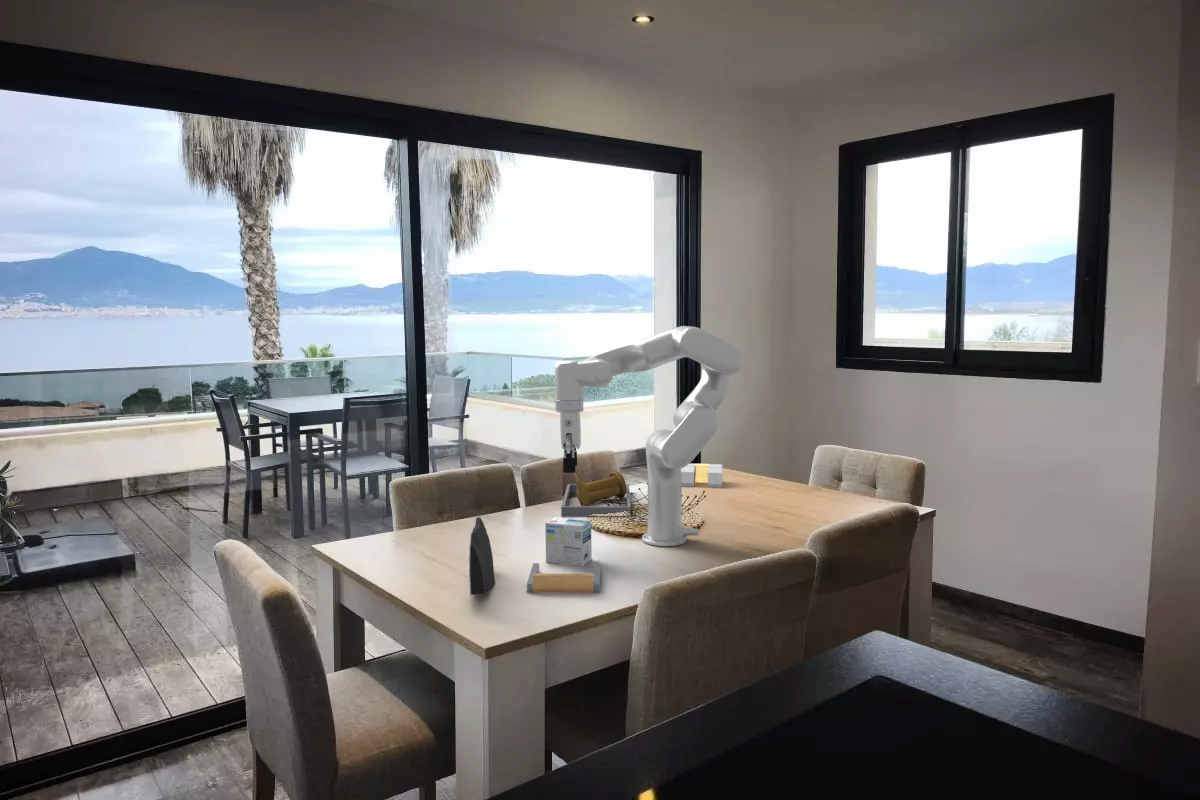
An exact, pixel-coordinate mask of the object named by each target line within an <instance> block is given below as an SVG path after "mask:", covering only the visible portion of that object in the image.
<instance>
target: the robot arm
mask: <svg viewBox="0 0 1200 800" xmlns="http://www.w3.org/2000/svg"><path fill="white" fill-rule="evenodd" d="M683 358H688V359H691V360H693V361H695V362H698V363H699V364H700V365H701V377H700V379H699V382H698V383H697V385H696V386H695V387H694V388H693V390H692V391H691V392H690V394H688V396H687V397H686V398H685V399H684V400H683V401H682V402H681V403H680V405H679V406H678V407H677V409H676V410H675V412H674V413H673V418H672V421H673V425H674V427H675V429H674V430H670V429H663V428H662V429H657V430H655V431H653V432H652V433H651V434H650V435H649V437H648V438H647V441H646V444H645V457H646V465H647V467H646V468H647V532H645V533H643V535H642V536H641V540H642V542H643V543H645V544H647V545H651V546H656V547H676V546H681V545H683V544H685V543H686V542H687V540H688V539H687V538H688V537H687V536H698V535H699V529H698V528H693V527H692V526H688V527H687V526H686V527H685V525H684V526H683V522H682V501H683V499H682V497H683V496H682V495H683V493H682V492H683V491H682V487H683V486H682V473H681V468H684V467H685V466H687V465H688V464H691V463H692V461H694V459H695V458H696V457H697V455H699V454H700V452H701V451H702V450H703V449H704V447H706V445H707V444H708V443H709V441H710V440H711V439H712V438H713V437H714V434H715V433H716V432H717V429H718V426H719V417H718V414H717V412H716V411H717V409H719V407H720V405H721V404H722V403H723V402H724V401H725V399H726V397H727V395H728V394H729V389H730V384H731V375H734V374H736V373H738V372H739V371H740V370H741V368H742V367H743V363H744V355H743V352H742V350H741V349H740V348H739V347H738V346H736V345H735V344H733V343H732V342H729V341H727V340H725V339H722V338H720V337H718V336H716V335H714V334H712V333H710V332H708V331H706V330H704V329H702V328H700V327H696V326H690V325H688V326H687V325H680V326H677V327H674V328H670V329H668V330H666V331H665V330H664V331H663V332H660V333H657V334H654V335H651V336H648V337H646V338H643V339H640V340H637V341H633V342H630V343H627V344H624V345H622V346H618V347H615V348H612V349H609V350H605V351H603V352H600V353H597V354H594V355H591V356H588V357H586V358H585V359H584V360H582V361H581V360H578V359H562V360H561V359H560V360H558V361H556V363H555V365H554V379H555V380H554V383H555V384H554V386H555V387H554V388H555V391H554V392H555V393H554V394H555V413H559V419H560V420H559V424H560V425H559V426H560V445H561V449H562V450H563V458H562V472H563V473H564V474H574V473H576V467H577V466H578V451H577V450H579V449H580V448H581V446H582V436H581V435H582V433H581V432H582V430H581V413H583V412H584V410H585V409H584V387H590V388H604V387H607V386H608V385H610V383H611V382H612V381H613V379H614V377H615V376H618V375H622V374H626V373H633V372H635V373H636V372H646V371H650V370H652V369H655V368H658V367H660V366H664V365H667V364H668V363H672V362H674V361H677V360H680V359H683Z"/></svg>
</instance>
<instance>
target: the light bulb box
mask: <svg viewBox="0 0 1200 800" xmlns="http://www.w3.org/2000/svg"><path fill="white" fill-rule="evenodd" d="M544 530H545V563H550V564H559V565H560V564H561V565H570V566H577V567H579V566H581V567H584V566H585V565H586V564H588V563H589V562H590V561H591V560H592V557H593V555H592V553H593V551H592V549H593V547H592V519H579V518H570V517H569V518H567V517H558V516H554V517H553V518H551V519H549V520H547V521H546V522H545V529H544Z"/></svg>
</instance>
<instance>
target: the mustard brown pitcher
mask: <svg viewBox="0 0 1200 800" xmlns="http://www.w3.org/2000/svg"><path fill="white" fill-rule="evenodd" d="M573 476H574V477H575V479H576V481H575V484H576V488H577V492H576V493H575V494H576V497H577V500H578V502H579V504H580V506H592V505H595V504H597V503H598V502H602V501H601V499H606V500H608V499H610V498H614V497H615V498H616V499H618V498H619V499H618V500H623V499H624V497H626V489H627V488H626V484H627V483H626V481H625V477H624V476H623V474H622V473H620V472H619V471H616V470H615V471H611V472H610V473H609V477H607V478H602V479H599V480H593V481H590V482H585V481H584V480H583V478H581V477H580V476H579V475H578V474H577V473H576V472H575V473H573Z"/></svg>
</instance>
